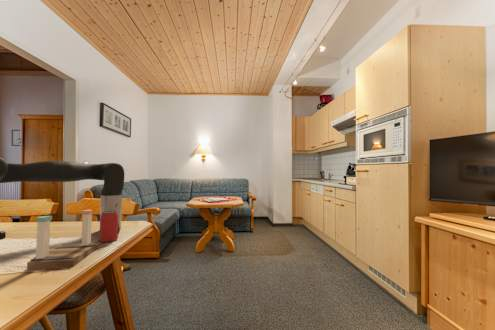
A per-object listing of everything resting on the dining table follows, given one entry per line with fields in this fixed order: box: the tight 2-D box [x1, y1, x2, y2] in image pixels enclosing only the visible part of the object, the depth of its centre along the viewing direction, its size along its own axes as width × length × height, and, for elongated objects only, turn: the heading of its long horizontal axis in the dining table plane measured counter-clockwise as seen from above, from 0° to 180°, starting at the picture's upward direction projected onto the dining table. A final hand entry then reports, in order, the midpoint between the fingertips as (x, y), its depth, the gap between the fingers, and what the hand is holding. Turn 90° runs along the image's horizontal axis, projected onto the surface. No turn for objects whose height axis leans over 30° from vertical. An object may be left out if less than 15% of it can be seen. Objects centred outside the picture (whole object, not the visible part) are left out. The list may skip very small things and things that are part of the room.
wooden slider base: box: [26, 242, 99, 271], centre depth 80 cm, size 18×12×2 cm, turn 11°
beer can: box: [99, 211, 119, 243], centre depth 101 cm, size 7×7×12 cm
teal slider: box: [35, 215, 53, 259], centre depth 73 cm, size 4×2×12 cm, turn 11°
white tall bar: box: [80, 209, 94, 246], centre depth 86 cm, size 4×2×12 cm, turn 11°
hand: (3, 235), depth 71 cm, fingers closed
